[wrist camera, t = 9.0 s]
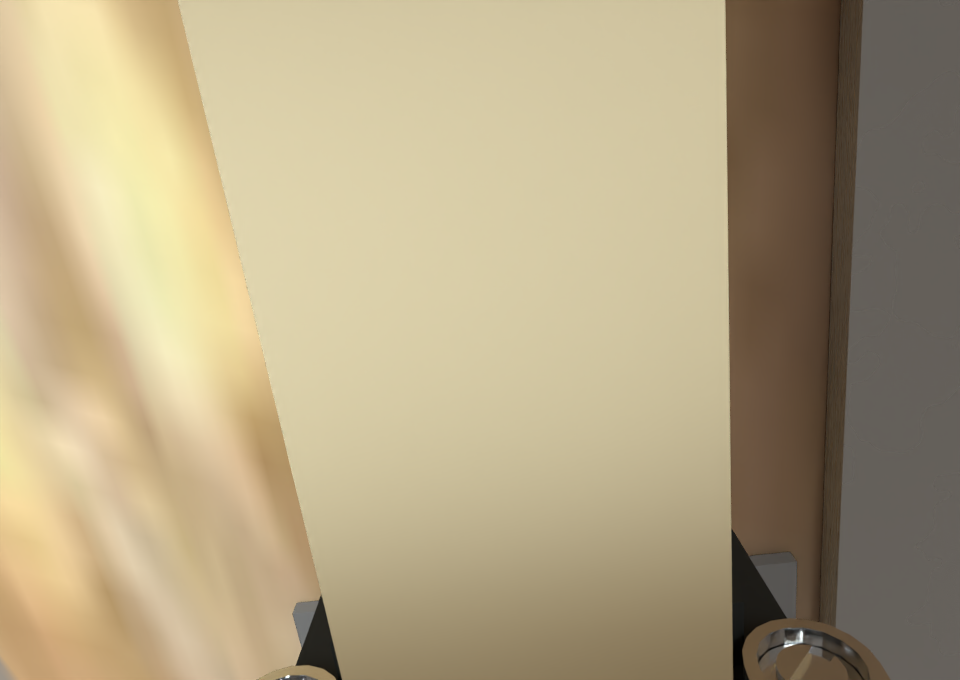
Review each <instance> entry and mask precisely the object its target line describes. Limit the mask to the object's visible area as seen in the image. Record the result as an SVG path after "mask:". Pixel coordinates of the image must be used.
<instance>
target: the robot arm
mask: <svg viewBox="0 0 960 680" xmlns="http://www.w3.org/2000/svg"><path fill="white" fill-rule="evenodd" d="M731 547H732V636H733V680H890V678H889V676H888V675H887V673H886V671H885V670H884V668H883V666H882V665H881V663H880V662H879V661H878V660H877V658H876V657H875V656H874V655H873V653H872V652H871V651H870V650H869V649H868V648H867V647H866V646H865V645H863V644H862V643H861V642H859V641H858V640H857V639H855V638H854V637H853V636H851V635H850V634H847V633H845V632H843V631H841V630H839V629H837V628H835V627H833V626H831V625H827V624H824V623H820V622H816V621H813V620H807V619H794V618H787V617H786V616H785V614H784V612H783V611H782V609H781V608H780V606H779V604H778V603H777V601H776V599H775V598H774V596H773V595H772V593H771V591H770V590H769V588H768V587H767V585H766V583H765V582H764V580H763V578H762V577H761V575H760V574H759V572H758V570H757V569H756V567H755V566H754V564H753V562H752V561H751V559H750V557H749V556H748V554H747V553H746V551H745V549H744V548H743V546H742V545H741V543H740V541H739V540H738V538H737V536H736V535H735V533H734V532H733V530H732V528H731ZM257 680H342V677H341V673H340V669H339V665H338V660H337V656H336V652H335V648H334V644H333V640H332V636H331V631H330V627H329V623H328V619H327V615H326V611H325V607H324V603H323V598H322V594H321V596H320V599H319V602H318V605H317V608H316V610H315V613H314V616H313V619H312V622H311V624H310V627H309V630H308V633H307V636H306V638H305V641H304V644H303V647H302V650H301V653H300V655H299V658H298V661H297V664H296V666H290V667H287V668H283V669H279V670H276V671H273V672H271V673H269V674H267V675H265V676H263V677H261V678H259V679H257Z"/></svg>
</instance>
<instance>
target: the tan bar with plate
mask: <svg viewBox="0 0 960 680" xmlns="http://www.w3.org/2000/svg"><path fill="white" fill-rule="evenodd" d="M178 3H179V8H180V12H181V16H182V20H183V24H184V28H185V32H186V36H187V41H188V45H189V49H190V53H191V57H192V61H193V65H194V70H195V74H196V78H197V82H198V86H199V90H200V94H201V98H202V103H203V107H204V111H205V115H206V119H207V123H208V127H209V132H210V136H211V140H212V144H213V148H214V152H215V156H216V160H217V165H218V169H219V173H220V177H221V181H222V185H223V189H224V194H225V198H226V202H227V206H228V210H229V214H230V218H231V222H232V227H233V231H234V235H235V239H236V243H237V247H238V251H239V255H240V260H241V264H242V268H243V272H244V276H245V280H246V284H247V289H248V293H249V297H250V301H251V305H252V309H253V313H254V317H255V322H256V326H257V330H258V334H259V338H260V342H261V346H262V351H263V355H264V359H265V363H266V367H267V371H268V375H269V379H270V384H271V388H272V392H273V396H274V400H275V404H276V408H277V412H278V417H279V421H280V425H281V429H282V433H283V437H284V441H285V446H286V450H287V454H288V458H289V462H290V466H291V470H292V474H293V479H294V483H295V487H296V491H297V495H298V499H299V503H300V508H301V512H302V516H303V520H304V524H305V528H306V532H307V536H308V541H309V545H310V549H311V553H312V557H313V561H314V565H315V570H316V574H317V578H318V582H319V586H320V590H321V594H322V598H323V603H324V607H325V611H326V615H327V619H328V623H329V627H330V631H331V636H332V640H333V644H334V648H335V652H336V656H337V660H338V665H339V669H340V673H341V677H342V680H733V636H732V547H731V459H730V371H729V283H728V195H727V107H726V19H725V0H178Z"/></svg>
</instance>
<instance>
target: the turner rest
mask: <svg viewBox="0 0 960 680" xmlns="http://www.w3.org/2000/svg"><path fill="white" fill-rule="evenodd" d="M819 622H820V623H824V624H827V625H831V626H833V627H835V628H837V629H839V630H841V631H843V632H845V633H847V634H850V635H851V636H853V637H854V638H855V639H857V640H858V641H859V642H861V643H862V644H863V645H865V646H866V647H867V648H868V649H869V650H870V651H871V652H872V653H873V655H874V656H875V657H876V658H877V660H878V661H879V662H880V663H881V665H882V666H883V668H884V670H885V671H886V673H887V675H888V676H889V678H890V680H960V0H841V15H840V44H839V73H838V101H837V130H836V159H835V188H834V216H833V245H832V274H831V302H830V331H829V360H828V388H827V417H826V446H825V474H824V503H823V532H822V561H821V589H820V618H819Z"/></svg>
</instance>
